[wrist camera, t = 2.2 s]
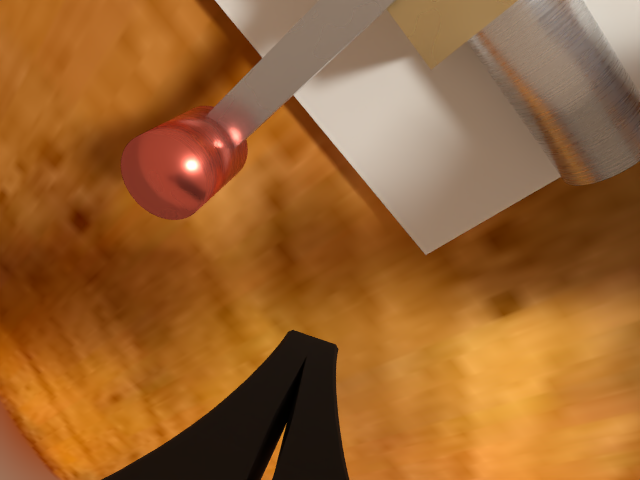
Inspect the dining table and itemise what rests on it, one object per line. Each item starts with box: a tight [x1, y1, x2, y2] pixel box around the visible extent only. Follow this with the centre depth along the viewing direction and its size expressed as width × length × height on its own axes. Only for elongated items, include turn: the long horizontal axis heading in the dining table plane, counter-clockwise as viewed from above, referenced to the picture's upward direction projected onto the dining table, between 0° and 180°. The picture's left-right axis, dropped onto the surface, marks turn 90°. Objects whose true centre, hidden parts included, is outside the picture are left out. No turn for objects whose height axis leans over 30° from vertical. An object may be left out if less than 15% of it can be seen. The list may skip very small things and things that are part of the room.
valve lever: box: [121, 0, 396, 220], centre depth 11 cm, size 11×2×3 cm, turn 132°
